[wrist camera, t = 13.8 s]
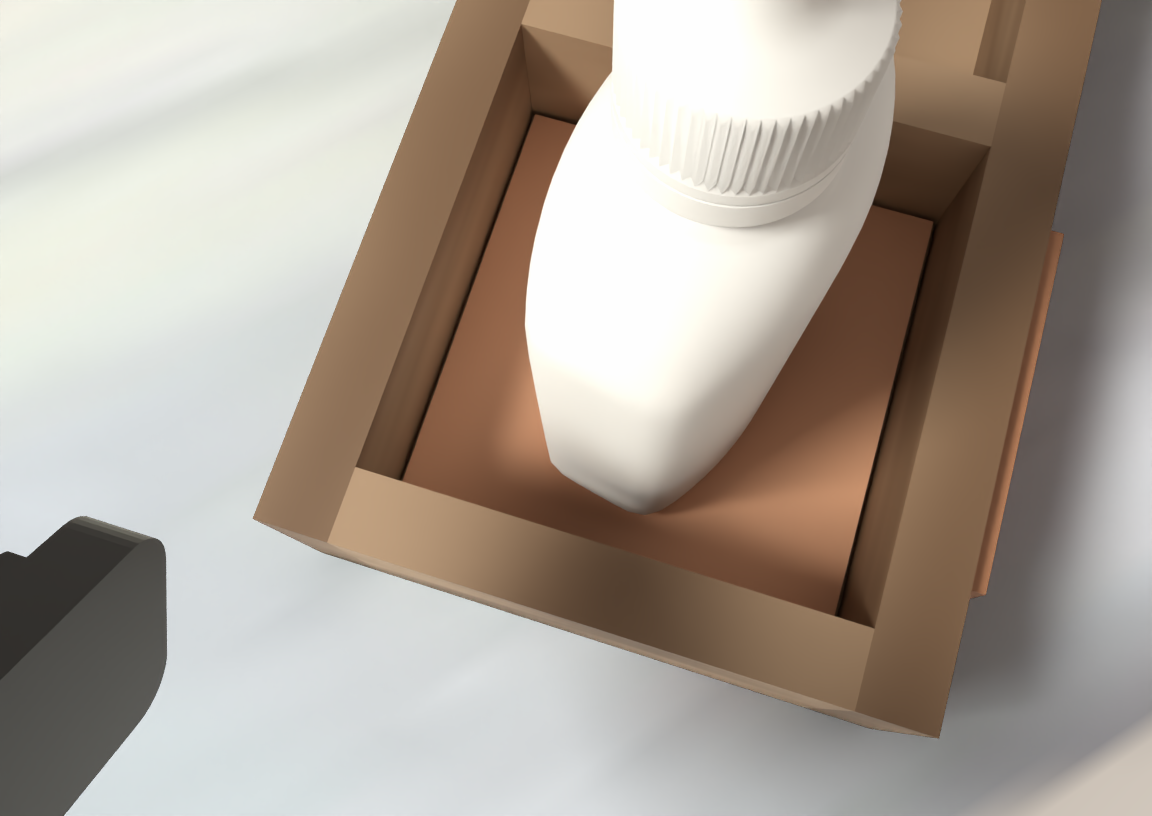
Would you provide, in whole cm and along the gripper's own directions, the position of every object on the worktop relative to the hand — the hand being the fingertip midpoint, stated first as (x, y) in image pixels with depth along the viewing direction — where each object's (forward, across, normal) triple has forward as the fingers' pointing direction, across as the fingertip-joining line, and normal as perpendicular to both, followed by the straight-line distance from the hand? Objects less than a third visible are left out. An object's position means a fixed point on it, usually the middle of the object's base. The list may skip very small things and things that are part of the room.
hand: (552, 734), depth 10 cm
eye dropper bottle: (+10, 0, +1) cm, 10 cm away
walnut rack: (+18, 0, -4) cm, 18 cm away
